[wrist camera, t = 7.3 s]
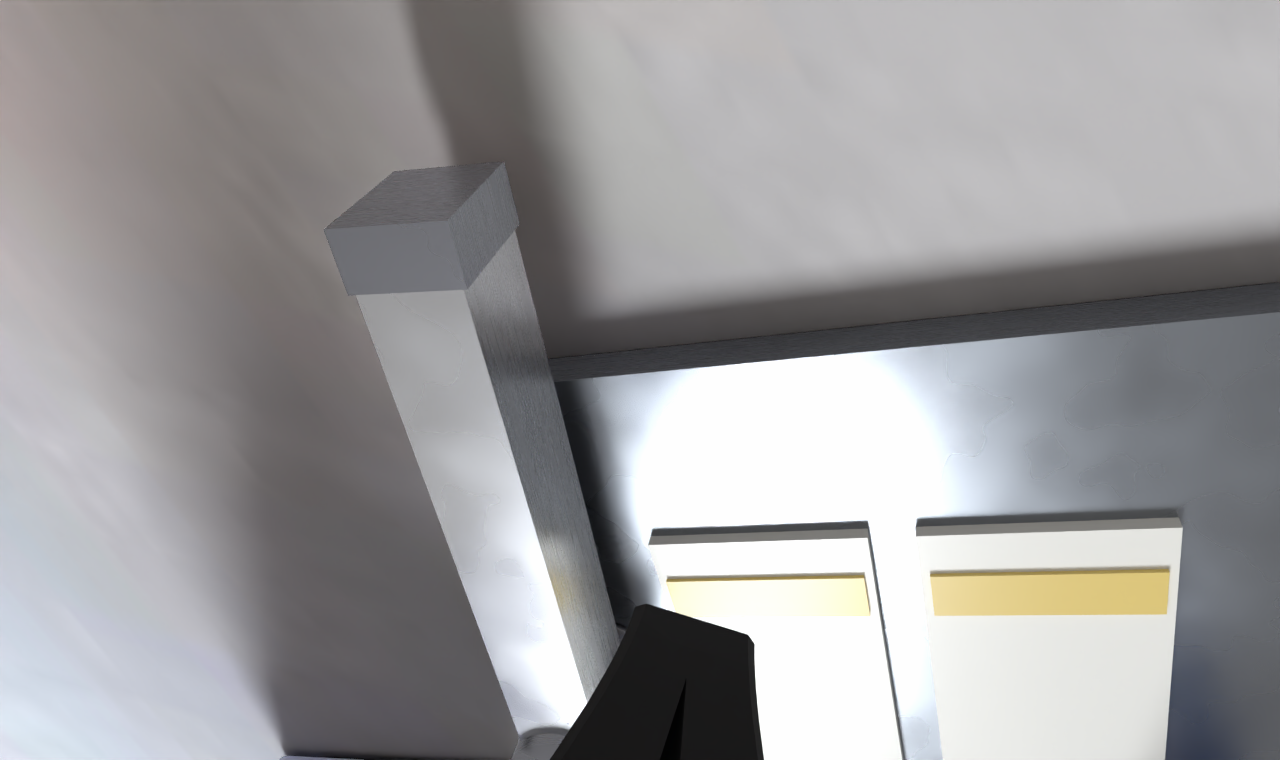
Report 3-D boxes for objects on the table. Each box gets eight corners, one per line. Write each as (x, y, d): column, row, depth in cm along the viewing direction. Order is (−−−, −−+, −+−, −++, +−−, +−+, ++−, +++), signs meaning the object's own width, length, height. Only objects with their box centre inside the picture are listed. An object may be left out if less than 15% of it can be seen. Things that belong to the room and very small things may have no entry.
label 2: (945, 781, 24) (946, 795, 24) (915, 526, 19) (915, 539, 19) (1158, 792, 22) (1162, 807, 22) (1178, 517, 18) (1184, 530, 17)
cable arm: (658, 710, 24) (631, 822, 22) (560, 702, 25) (524, 809, 23) (525, 152, 16) (458, 226, 14) (388, 165, 17) (299, 237, 14)
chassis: (609, 783, 29) (599, 819, 28) (432, 371, 21) (410, 400, 20) (1252, 819, 24) (1268, 865, 23) (1341, 275, 16) (1371, 309, 15)
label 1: (725, 770, 26) (723, 783, 25) (650, 536, 21) (646, 547, 21) (906, 779, 24) (907, 793, 24) (867, 528, 20) (867, 541, 19)
